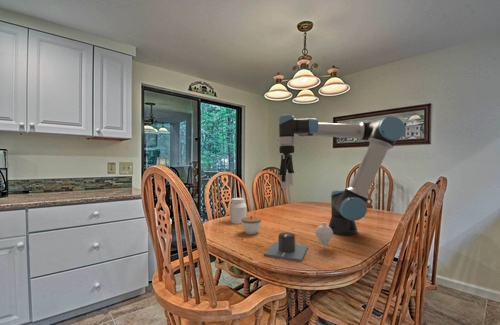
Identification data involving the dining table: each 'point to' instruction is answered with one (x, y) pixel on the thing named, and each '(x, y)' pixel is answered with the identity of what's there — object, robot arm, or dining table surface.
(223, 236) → the dining table surface
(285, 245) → the knob
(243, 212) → the jar
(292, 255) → the shaft plate
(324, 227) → the spinning top
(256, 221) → the lidded jar
